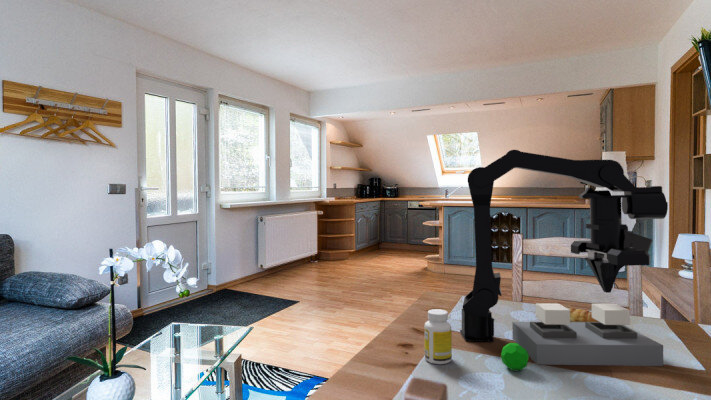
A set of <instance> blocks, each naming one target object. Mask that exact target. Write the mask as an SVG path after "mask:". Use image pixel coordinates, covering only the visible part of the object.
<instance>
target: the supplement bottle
mask: <svg viewBox="0 0 711 400" xmlns="http://www.w3.org/2000/svg"><path fill="white" fill-rule="evenodd" d="M427 319H428V320H427V321H425V323H424V327H423V328H424V359H425V360H426V362H429V363H431V364H435V365H445V364H449V363H450V362H451V361H452V357H453V355H452V354H453V353H452V351H453V350H452V346H453V343H452V325H451V323H450V322H449V321H448V319H449V313H448V311H447V310H445V309H439V308H435V309H433V308H432V309H429V310H428V311H427Z"/></svg>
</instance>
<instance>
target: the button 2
mask: <svg viewBox="0 0 711 400" xmlns="http://www.w3.org/2000/svg"><path fill="white" fill-rule="evenodd" d="M591 312H592V318H594V319H595V320H597V321H599V322H601V323H603V324H604V325H625V326H630V324H631V311H630V309H627V308H625V307H623V306H622V305H619V304H616V303H591Z"/></svg>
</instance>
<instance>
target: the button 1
mask: <svg viewBox="0 0 711 400" xmlns="http://www.w3.org/2000/svg"><path fill="white" fill-rule="evenodd" d="M535 318H536V319H538V321H539V322H543V323H544V324H560V325H570V310H569V308H567V307H565V306H563V305H562V304H560V303H535Z"/></svg>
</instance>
